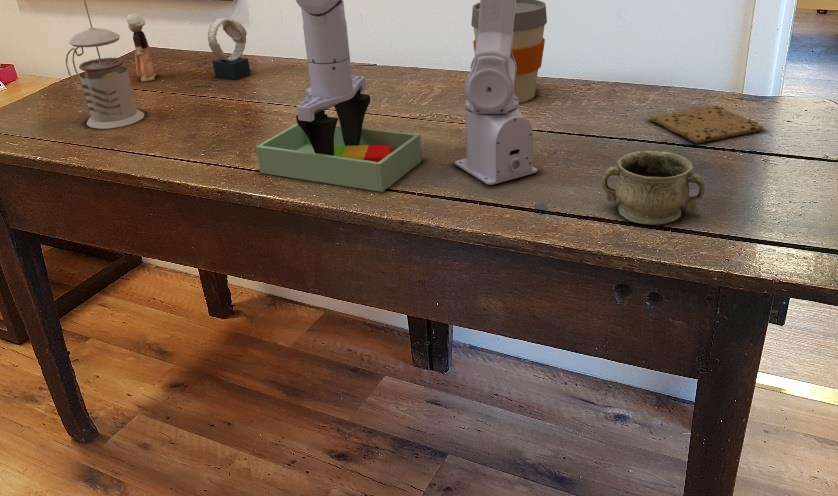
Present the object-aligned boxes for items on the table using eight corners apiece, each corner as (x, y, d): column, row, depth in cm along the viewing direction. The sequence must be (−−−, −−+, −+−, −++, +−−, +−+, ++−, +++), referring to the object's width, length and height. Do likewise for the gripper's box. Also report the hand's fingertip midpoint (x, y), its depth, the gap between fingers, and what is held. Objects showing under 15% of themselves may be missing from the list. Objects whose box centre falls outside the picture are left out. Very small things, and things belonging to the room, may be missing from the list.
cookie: (712, 107, 128) (713, 101, 127) (764, 130, 118) (765, 124, 118) (647, 119, 125) (648, 113, 124) (695, 144, 115) (696, 137, 114)
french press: (121, 130, 134) (79, -28, 121) (65, 126, 138) (19, -29, 125) (155, 111, 142) (120, -39, 129) (102, 107, 146) (62, -39, 133)
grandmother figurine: (138, 75, 164) (122, 11, 157) (157, 72, 165) (142, 8, 158) (138, 85, 158) (122, 18, 151) (158, 82, 158) (143, 16, 152)
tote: (421, 161, 116) (420, 134, 113) (382, 192, 107) (380, 164, 105) (305, 145, 124) (302, 120, 122) (260, 172, 115) (255, 146, 113)
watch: (257, 71, 161) (248, 15, 156) (228, 82, 156) (218, 24, 150) (237, 68, 164) (228, 13, 158) (208, 79, 159) (197, 21, 153)
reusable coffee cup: (543, 106, 133) (546, 13, 125) (468, 106, 135) (466, 14, 127) (546, 84, 144) (548, -4, 136) (476, 84, 146) (475, -2, 138)
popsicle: (390, 170, 112) (389, 157, 111) (285, 173, 113) (283, 160, 112) (394, 155, 116) (393, 143, 116) (293, 158, 118) (291, 146, 117)
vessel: (593, 221, 96) (597, 172, 93) (606, 192, 103) (609, 145, 100) (698, 232, 92) (705, 182, 89) (703, 201, 99) (710, 153, 96)
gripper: (332, 43, 114) (342, 134, 121) (272, 70, 103) (287, 169, 110) (375, 46, 111) (382, 139, 118) (318, 75, 100) (330, 175, 108)
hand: (339, 154), depth 114 cm, fingers closed on popsicle, 6 cm apart
